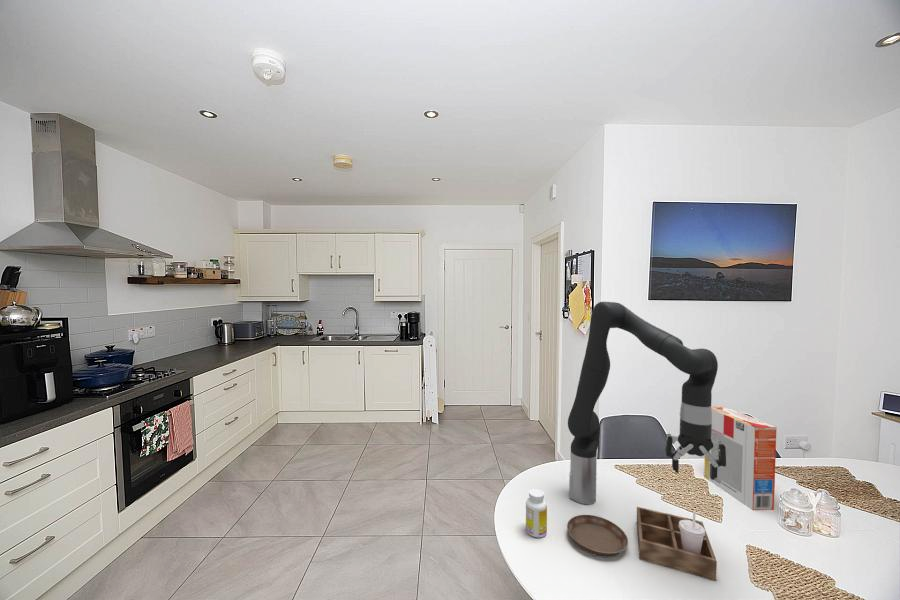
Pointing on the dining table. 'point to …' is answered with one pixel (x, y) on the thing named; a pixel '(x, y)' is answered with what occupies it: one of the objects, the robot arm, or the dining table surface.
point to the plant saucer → (597, 535)
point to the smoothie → (691, 535)
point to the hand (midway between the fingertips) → (694, 475)
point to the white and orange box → (744, 458)
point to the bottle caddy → (672, 544)
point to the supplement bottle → (536, 514)
